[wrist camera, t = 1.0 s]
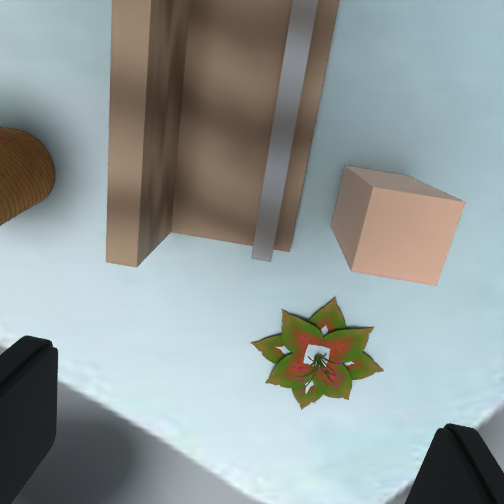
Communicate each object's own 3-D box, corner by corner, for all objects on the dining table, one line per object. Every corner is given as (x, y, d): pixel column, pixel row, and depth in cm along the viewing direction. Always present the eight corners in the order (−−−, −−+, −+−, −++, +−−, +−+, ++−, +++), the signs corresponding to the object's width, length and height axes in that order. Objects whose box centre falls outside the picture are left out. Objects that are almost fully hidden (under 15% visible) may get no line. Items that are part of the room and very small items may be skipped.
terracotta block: (344, 165, 30) (373, 187, 21) (408, 175, 30) (465, 202, 21) (330, 225, 32) (351, 271, 23) (390, 236, 32) (436, 285, 22)
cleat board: (154, -57, 26) (94, -140, 18) (343, -28, 26) (373, -98, 18) (139, 223, 33) (90, 259, 25) (289, 248, 33) (292, 293, 24)
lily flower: (404, 371, 37) (420, 405, 32) (296, 421, 39) (298, 459, 35) (340, 272, 34) (349, 294, 29) (229, 334, 37) (222, 363, 32)
